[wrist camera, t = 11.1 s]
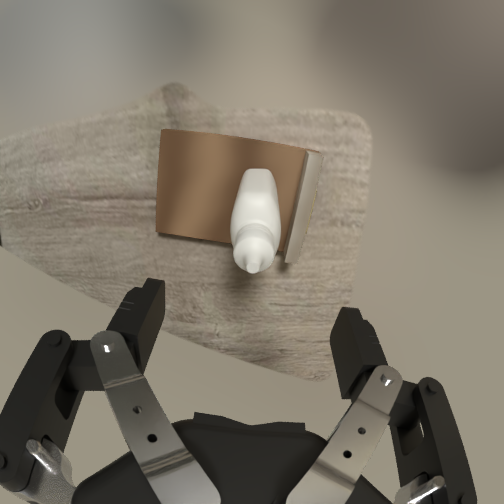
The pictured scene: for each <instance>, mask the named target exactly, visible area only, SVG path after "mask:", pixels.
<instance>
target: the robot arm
mask: <svg viewBox="0 0 504 504" xmlns="http://www.w3.org/2000/svg"><path fill="white" fill-rule="evenodd" d="M164 315H165V281H164V280H158V279H152V278H147V280H146V282H145V284H144V285H143V287H142V288H139V287H134V288H133V289H132V290H130V291H129V292H127V294H126V295H125V297H124V299H123V302H121V304H120V306H119V308H118V309H117V311H116V313H115V315H114V316H113V318H112V320H111V322H110V323H109V325H108V327H107V329H106V330H105V331H101V332H98V333H97V334H95V335H94V336H93V337H92V339H91V340H71V338H70V336H69V335H68V334H67V333H66V332H64V331H62V330H52V331H49V332H47V333H45V334H44V335H43V336H42V337H41V339H40V340H39V342H38V344H37V345H36V347H35V349H34V351H33V352H32V354H31V356H30V358H29V359H28V361H27V363H26V365H25V367H24V368H23V370H22V372H21V374H20V376H19V378H18V379H17V381H16V383H15V385H14V388H13V389H12V391H11V393H10V395H9V397H8V399H7V401H6V403H5V405H4V408H3V410H2V412H1V414H0V485H1V486H3V488H5V489H6V490H8V491H9V492H11V493H13V494H14V495H15V496H17V497H19V498H20V499H22V500H25V501H27V502H29V503H30V504H477V496H476V492H475V487H474V483H473V479H472V475H471V471H470V467H469V464H468V460H467V457H466V453H465V450H464V446H463V443H462V440H461V437H460V434H459V430H458V427H457V424H456V421H455V419H454V416H453V413H452V410H451V408H450V404H449V402H448V399H447V396H446V394H445V391H444V389H443V386H442V385H441V384H440V383H439V382H438V381H437V380H435V379H433V378H430V377H426V378H423V379H421V380H420V382H419V383H418V384H415V383H411V382H407V381H404V380H402V377H401V375H400V373H399V372H398V371H397V370H396V369H394V368H393V367H390V366H388V363H387V361H386V358H385V355H384V353H383V350H382V348H381V345H380V344H379V340H378V337H377V335H376V332H375V330H374V328H373V326H372V325H371V324H370V323H369V322H368V321H367V320H363V318H362V315H361V313H360V310H359V309H358V308H350V307H342V308H341V310H340V312H339V314H338V317H337V319H336V321H335V324H334V326H333V329H332V331H331V335H330V346H331V350H332V355H333V359H334V364H335V368H336V373H337V378H338V382H339V387H340V392H341V397H342V399H351V402H352V404H351V405H350V406H349V408H348V409H347V411H346V412H345V414H344V416H343V417H342V418H341V420H340V421H339V423H338V425H337V426H336V427H335V429H334V430H333V432H332V433H331V434H330V436H329V437H328V438H327V440H325V439H324V438H322V437H320V436H319V435H317V434H315V433H312V432H309V431H306V430H305V423H293V422H273V423H267V424H260V425H247V424H244V423H241V422H238V421H235V420H232V419H229V418H226V417H223V416H217V415H210V414H204V413H198V412H195V413H194V418H193V419H187V420H181V421H178V422H174V423H170V422H169V420H168V418H167V417H166V414H165V413H164V411H163V409H162V407H161V406H160V404H159V402H158V400H157V398H156V397H155V395H154V393H153V391H152V389H151V387H150V385H149V383H148V381H147V379H146V378H145V376H144V375H143V374H144V371H145V368H146V365H147V362H148V359H149V357H150V354H151V352H152V349H153V346H154V343H155V341H156V338H157V335H158V333H159V330H160V327H161V325H162V322H163V319H164ZM141 374H142V375H141ZM84 391H105V394H106V396H107V399H108V401H109V404H110V406H111V409H112V411H113V413H114V416H115V418H116V421H117V423H118V425H119V428H120V430H121V432H122V434H123V437H124V439H125V441H126V443H127V445H128V447H129V449H130V451H129V452H127V453H126V454H124V455H123V456H121V457H120V458H118V459H117V460H115V461H114V462H112V463H111V464H109V465H108V466H106V467H104V468H103V469H101V470H100V471H98V472H96V473H95V474H93V475H92V476H90V477H88V478H87V479H85V480H84V481H82V482H81V483H80V484H79V485H78V486H77V487H75V486H74V484H73V482H72V477H71V475H72V467H71V463H70V461H69V460H68V458H67V457H66V456H65V455H64V454H63V453H64V449H65V446H66V443H67V439H68V437H69V434H70V431H71V428H72V425H73V422H74V419H75V416H76V413H77V410H78V407H79V405H80V402H81V399H82V396H83V394H84ZM420 422H421V425H422V428H423V432H424V438H423V434H422V431H421V427H420ZM387 425H389V426H390V430H391V435H392V440H393V445H394V451H395V456H396V462H397V468H398V474H399V480H400V487H401V488H400V489H399V490H398V492H397V494H396V496H395V502H394V503H391V501H389V500H388V499H387V498H386V497H385V496H384V495H383V494H382V493H381V492H380V491H378V490H377V489H376V488H375V487H374V486H373V485H372V484H371V483H370V482H369V481H368V480H367V479H366V478H365V477H363V476H362V475H361V473H362V471H363V469H364V468H365V466H366V464H367V462H368V461H369V459H370V457H371V455H372V454H373V452H374V450H375V448H376V446H377V444H378V442H379V440H380V438H381V436H382V435H383V433H384V430H385V429H386V426H387Z"/></svg>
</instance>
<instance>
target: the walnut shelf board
mask: <svg viewBox="0 0 504 504" xmlns="http://www.w3.org/2000/svg"><path fill="white" fill-rule="evenodd" d="M323 158H324V157H323V156H322V155H321V154H320V152H319V151H314V150H309V149H304V148H299V147H294V146H289V145H284V144H278V143H273V142H267V141H261V140H255V139H248V138H242V137H235V136H228V135H220V134H212V133H203V132H194V131H184V130H172V129H163V130H161V138H160V150H159V164H158V180H157V201H156V232H161V233H167V234H174V235H180V236H187V237H193V238H199V239H206V240H212V241H219V242H225V243H231V244H232V241H231V234H230V225H231V217H232V212H233V208H234V204H235V200H236V197H237V193H238V190H239V186H240V183H241V180H242V177H243V175H244V173H245V171H246V170H248V169H268V170H269V171H270V172H271V173H272V175H273V177H274V180H275V183H276V188H277V195H278V203H279V211H280V220H281V236H280V242H279V246H278V250H277V251H281V252H284V262H286V263H292V264H298V260H299V256H300V252H301V249H302V245H303V241H304V237H305V234H306V233H307V229H308V225H309V221H310V217H311V213H312V209H313V205H314V201H315V197H316V192H317V191H316V188H317V184H318V180H319V175H320V171H321V167H322V162H323Z"/></svg>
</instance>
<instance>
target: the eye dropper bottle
mask: <svg viewBox="0 0 504 504" xmlns="http://www.w3.org/2000/svg"><path fill="white" fill-rule="evenodd" d="M230 234H231V241H232V245H233V249H234V250H233V257H234V261H235V262H236V264H237V265H238V266H239V267H240V268H241V269H243V270H245V271H248V272H249V273H257V272H261V271H263V270H265V269H267V268H268V267H269V266H271V264H272V262H273V261H274V257H275V254H276V252H277V250H278V246H279V242H280V236H281V220H280V211H279V203H278V195H277V188H276V183H275V180H274V177H273V175H272V173H271V172H270V171H269V170H268V169H248V170H246V171H245V173H244V175H243V177H242V180H241V183H240V186H239V190H238V193H237V197H236V200H235V204H234V208H233V212H232V217H231V225H230Z"/></svg>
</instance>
